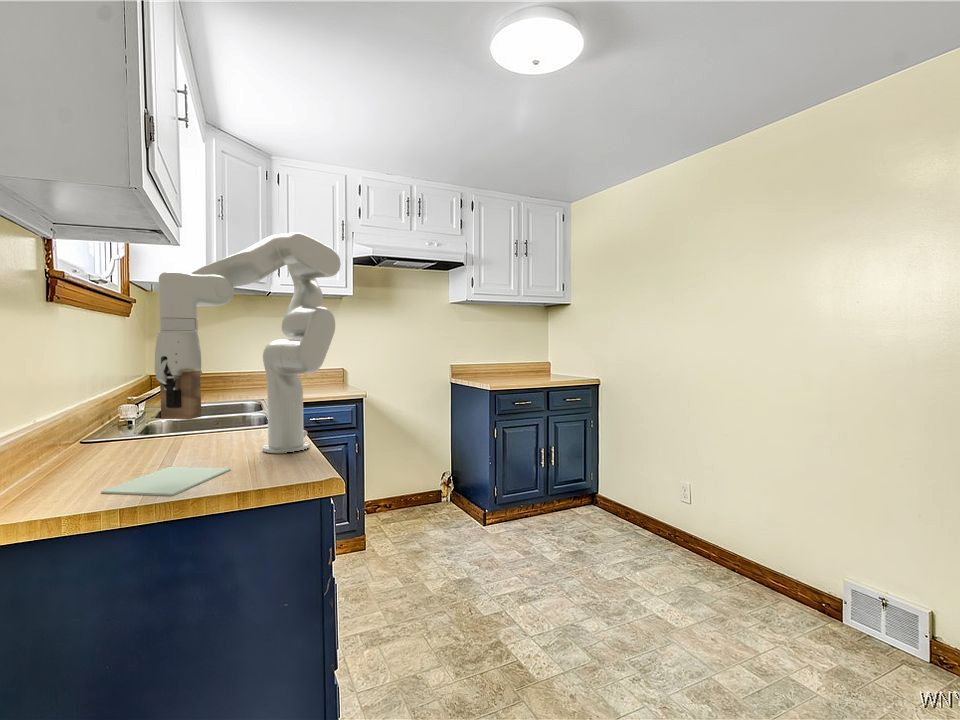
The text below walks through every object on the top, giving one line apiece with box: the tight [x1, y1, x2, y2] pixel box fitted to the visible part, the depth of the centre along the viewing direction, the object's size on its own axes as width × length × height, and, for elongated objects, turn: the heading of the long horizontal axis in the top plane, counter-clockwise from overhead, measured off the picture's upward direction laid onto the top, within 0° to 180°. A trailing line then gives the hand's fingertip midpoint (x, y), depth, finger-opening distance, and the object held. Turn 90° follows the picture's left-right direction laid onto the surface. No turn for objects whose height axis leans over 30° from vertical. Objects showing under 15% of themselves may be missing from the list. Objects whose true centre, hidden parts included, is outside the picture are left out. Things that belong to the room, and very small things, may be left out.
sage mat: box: [100, 466, 232, 497], centre depth 115 cm, size 20×16×1 cm
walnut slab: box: [159, 369, 202, 420], centre depth 118 cm, size 4×7×11 cm, turn 84°
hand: (181, 405), depth 118 cm, fingers closed on walnut slab, 4 cm apart
